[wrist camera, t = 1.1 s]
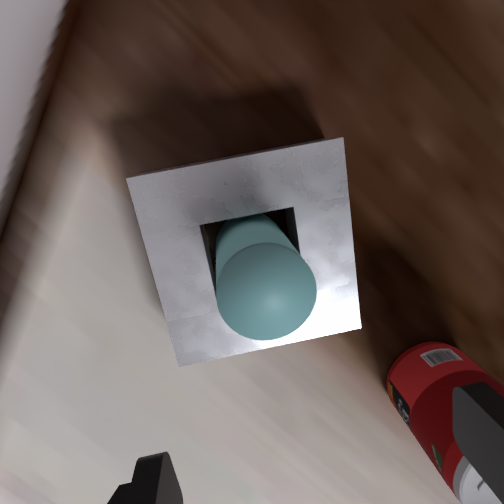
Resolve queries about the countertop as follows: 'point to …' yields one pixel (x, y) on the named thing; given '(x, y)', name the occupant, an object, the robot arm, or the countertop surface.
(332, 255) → the housing
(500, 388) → the canned food
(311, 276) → the teal cylinder
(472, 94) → the countertop surface
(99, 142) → the countertop surface
